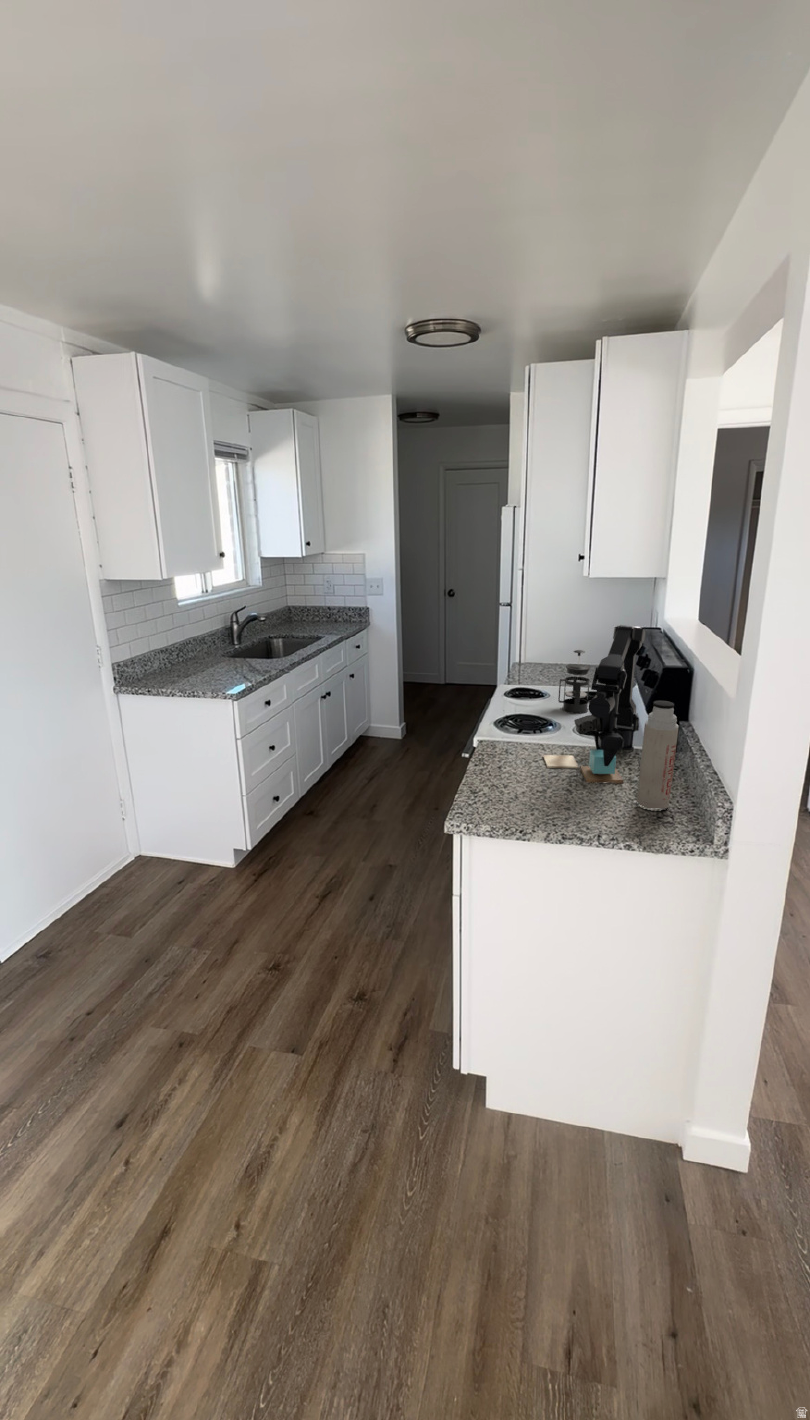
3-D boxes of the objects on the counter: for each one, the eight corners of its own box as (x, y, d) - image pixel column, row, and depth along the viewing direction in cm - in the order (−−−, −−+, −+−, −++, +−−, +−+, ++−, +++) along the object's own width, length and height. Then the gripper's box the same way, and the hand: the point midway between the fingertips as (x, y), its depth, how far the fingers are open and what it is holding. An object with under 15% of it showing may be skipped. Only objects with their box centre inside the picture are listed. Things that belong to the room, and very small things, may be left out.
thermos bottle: (675, 807, 173) (688, 704, 164) (653, 814, 169) (665, 709, 161) (651, 796, 180) (663, 696, 171) (629, 802, 176) (640, 700, 168)
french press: (588, 706, 257) (592, 648, 251) (591, 714, 249) (596, 653, 242) (556, 705, 259) (560, 647, 252) (558, 713, 250) (562, 652, 243)
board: (572, 757, 207) (572, 755, 207) (578, 768, 199) (578, 766, 198) (543, 756, 208) (543, 755, 207) (547, 767, 199) (547, 766, 199)
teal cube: (609, 765, 195) (611, 749, 194) (614, 773, 189) (616, 757, 188) (588, 765, 195) (590, 749, 194) (593, 773, 190) (594, 757, 188)
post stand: (614, 769, 198) (616, 750, 196) (623, 783, 188) (625, 763, 186) (580, 769, 198) (581, 750, 196) (587, 782, 189) (588, 762, 187)
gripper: (571, 698, 196) (568, 748, 201) (584, 718, 179) (580, 772, 183) (610, 698, 196) (605, 748, 200) (627, 718, 178) (621, 772, 183)
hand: (602, 759), depth 192 cm, fingers open, 9 cm apart
